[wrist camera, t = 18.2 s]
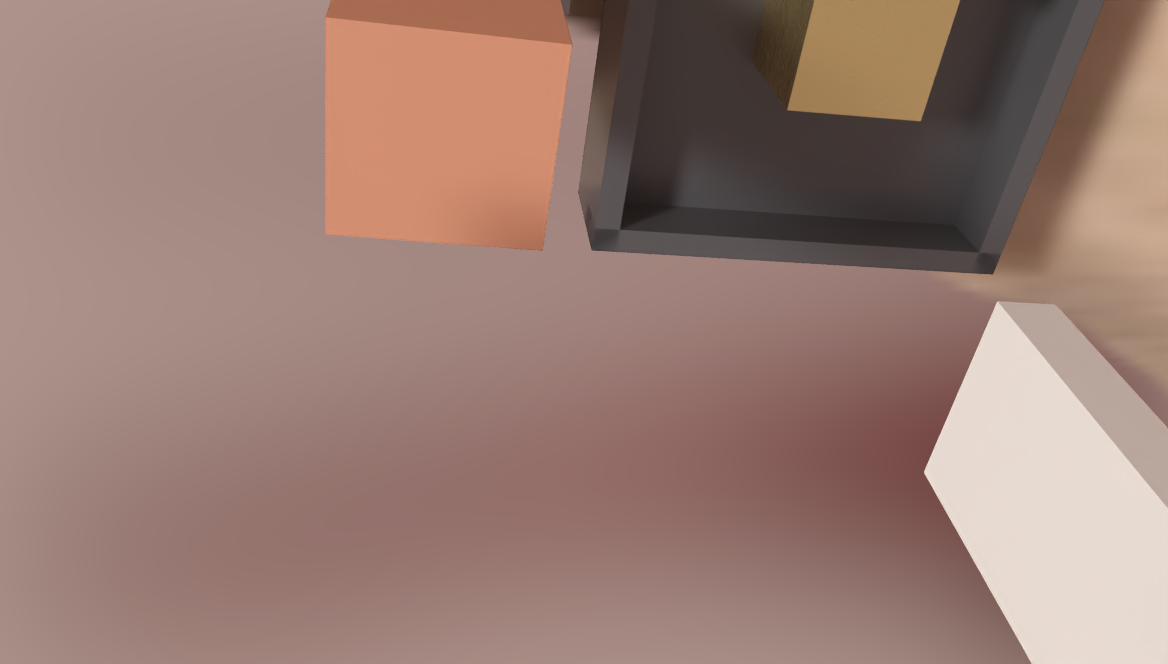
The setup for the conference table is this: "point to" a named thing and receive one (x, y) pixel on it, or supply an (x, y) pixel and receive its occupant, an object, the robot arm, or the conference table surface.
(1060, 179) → the conference table surface
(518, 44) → the salmon pink rectangular prism
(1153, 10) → the conference table surface
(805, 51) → the tan wooden cube
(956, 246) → the tray
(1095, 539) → the robot arm
